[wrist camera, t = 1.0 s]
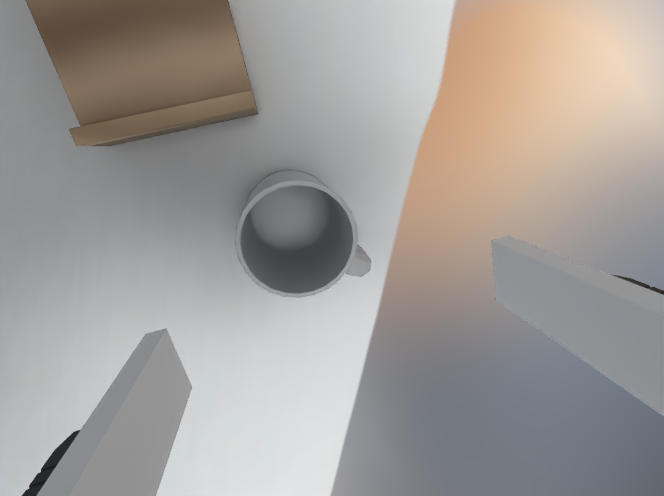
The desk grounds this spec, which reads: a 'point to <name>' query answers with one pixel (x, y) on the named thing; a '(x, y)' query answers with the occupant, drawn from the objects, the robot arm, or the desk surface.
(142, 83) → the wooden tray
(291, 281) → the cup
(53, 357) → the desk surface
